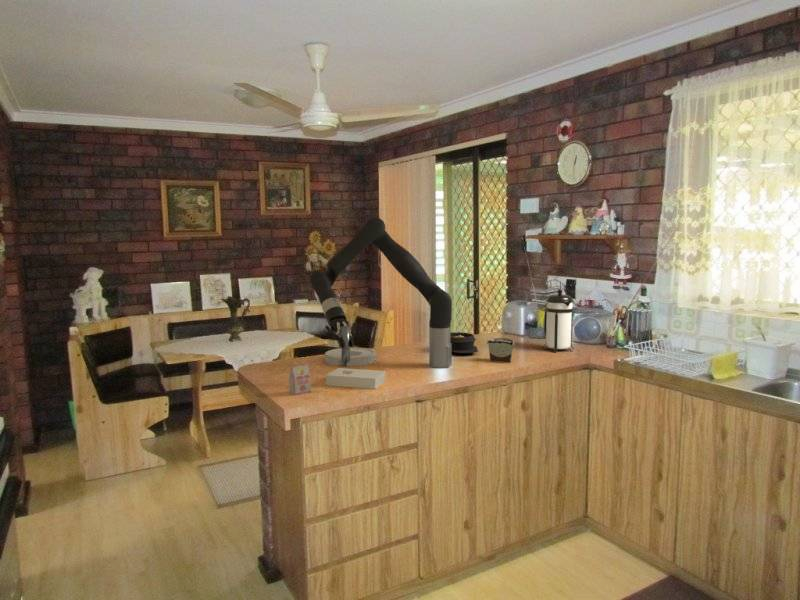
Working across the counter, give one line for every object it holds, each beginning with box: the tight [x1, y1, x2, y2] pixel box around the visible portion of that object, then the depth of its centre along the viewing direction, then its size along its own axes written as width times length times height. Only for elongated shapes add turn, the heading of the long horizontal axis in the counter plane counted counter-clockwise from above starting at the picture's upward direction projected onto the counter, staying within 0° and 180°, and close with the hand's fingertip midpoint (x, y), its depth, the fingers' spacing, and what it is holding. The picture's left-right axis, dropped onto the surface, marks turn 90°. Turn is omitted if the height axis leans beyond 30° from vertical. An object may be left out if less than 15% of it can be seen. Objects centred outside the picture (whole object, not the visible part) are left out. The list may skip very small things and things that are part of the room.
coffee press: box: [542, 289, 575, 353], centre depth 281 cm, size 17×16×30 cm
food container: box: [486, 337, 515, 364], centre depth 258 cm, size 12×6×10 cm, turn 65°
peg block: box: [325, 367, 386, 390], centre depth 222 cm, size 20×12×4 cm, turn 73°
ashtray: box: [324, 347, 377, 367], centre depth 262 cm, size 23×23×4 cm
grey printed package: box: [288, 364, 312, 396], centre depth 209 cm, size 4×7×10 cm, turn 128°
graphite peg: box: [340, 326, 351, 363], centre depth 221 cm, size 3×3×14 cm
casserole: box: [450, 331, 479, 355], centre depth 279 cm, size 25×19×8 cm
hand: (348, 346), depth 220 cm, fingers closed on graphite peg, 3 cm apart
